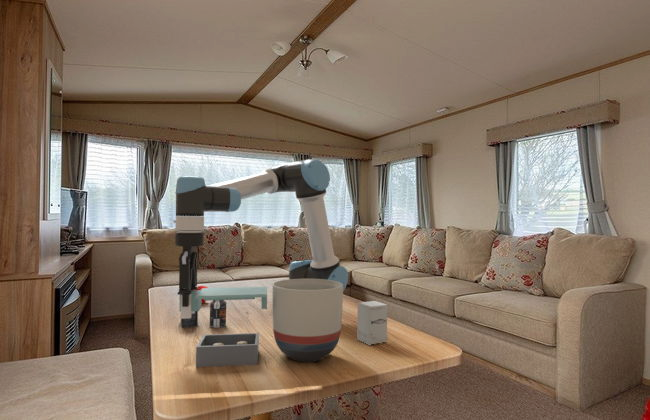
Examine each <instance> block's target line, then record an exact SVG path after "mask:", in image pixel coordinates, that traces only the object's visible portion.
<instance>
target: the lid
mask: <svg viewBox="0 0 650 420" xmlns="http://www.w3.org/2000/svg"><path fill="white" fill-rule="evenodd" d="M191 294H192V310H191V311H198V312H199V311H200V310H201V309H202V306H203V305H202V304H203V303H202V299H204V301H206V302H207V301H213V300H224V301H237V300H255V299H256V298H261V308H260V309H261V310H267V309H268V286H243V287H242V286H241V287H238V286H237V287H235V286H234V287H233V286H232V287H231V286H230V287H208V288H202V289H201V290H195V291H191ZM179 312H180V313H181V295H179Z"/></svg>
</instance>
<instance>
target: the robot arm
mask: <svg viewBox="0 0 650 420" xmlns="http://www.w3.org/2000/svg"><path fill="white" fill-rule="evenodd" d="M330 181H331V174H330V171H329V168H328V167H327V165H326V164H325V163H324V162H322V160H319V159H303V160H296V161H289V162H288V161H287V162H285V163H281V164H280V165H275V166H273V167H270V168H266V169H264V170H262V171H261V173H257V174H252V175H247V176H243V177H239V178H235V179H231V180H227V181H223V182H218V183H213V184H209V185H207V184H206V182H205V178H204V177H200V176H196V175H195V176H192V175H183V176H179V177H178V178H177V179H176V185H175V192H174V193H175V219H174V220H173V222H172V223H174V224H175V231H177V232H175V235H174V244H175V247H182V251H181V252H180V256H179V258H178V262H179V263H178V264H179V270H178V271H179V273H178V276H179V277H178V278H179V279H178V292H177V295H178V296H180V295H181V312H180V314H179V315H180V317H179V319H180V320H181V319H185V318H191V314H195V311H191V310H192V294H191V291H195V290H198V287H197V286H198V258H199V257H198V256H199V252H197V249H196V247H201V246H204V239H205V238H204V235H205V234H204V232H203V231H204V230H205V212H212V213H214V212H215V213H216V212H217V213H218V212H221V213H222V212H226V213H229V212H230V213H231V212H233V213H234V212H236V211H238V210H239V208H240V207H241V203H242V200H245V199H248V198H252V197H256V196H259V195H263V194H265V193H266V194H267V193H268V194H269V195H270V194H271V195H272V194H275V193H287V192H289V193H291V192H293V193H294V192H295V197H296V200H298V201H300V202H301V207H302V211H303V216H304V220H305V221H304V222H305V227H306V231H307V235H308V236H307V237H308V241H309V246H310V251H311V255H312V259H306V260H297V261H295V260H294V261H291V262H290V264H289V271H288V280H289V279H325V280H332V281H337V282H340V283H342V284H343V292H344V291H345V290H346V287H347V285H348V281H349V271H348V270H347V268H346V267H345V266H342V265H341V263H340V259H339V257H338V256H336V255H335V252H334V248H333V247H334V246H333V242H332V237H331V236H332V235H331V231H330V225H329V220H328V215H327V210H326V206H325V205H326V204H325V201H324V197H325V195H326V194H327V188H328V187H329V186H330Z"/></svg>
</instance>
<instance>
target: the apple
mask: <svg viewBox="0 0 650 420" xmlns="http://www.w3.org/2000/svg"><path fill="white" fill-rule="evenodd" d="M196 287H198V290H201V289H202V288H209V287H208V286H206V285H205V286H204V285H200V286H199V285H197V286H196ZM206 302H207V301H204V299H202V304H204V303H206Z"/></svg>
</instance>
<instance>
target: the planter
mask: <svg viewBox="0 0 650 420" xmlns="http://www.w3.org/2000/svg"><path fill="white" fill-rule="evenodd" d="M343 298H344V291H343V284H342V283H340V282H337V281H332V280H325V279H289V278H288V279H283V280H278V281H274V282H273V284H272V331H273V337H274V340H275V343H276V345H277V348H278V349H279V350H280V352H281V353H283V354H284V355H285V356H286V357H288V358H290V359H291V360H293V361H297V362H301V363H302V362H304V363H305V362H307V363H310V362H316V361H320V360H323V359H324V358H326V357H327V356H329V355H330V354H331V353H332V352H333V351H334V350H335V349H336V347H337V345H338V343H339V341H340V338H341V333H342V327H343V326H342V325H343V324H342V323H343V301H344V300H343Z"/></svg>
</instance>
